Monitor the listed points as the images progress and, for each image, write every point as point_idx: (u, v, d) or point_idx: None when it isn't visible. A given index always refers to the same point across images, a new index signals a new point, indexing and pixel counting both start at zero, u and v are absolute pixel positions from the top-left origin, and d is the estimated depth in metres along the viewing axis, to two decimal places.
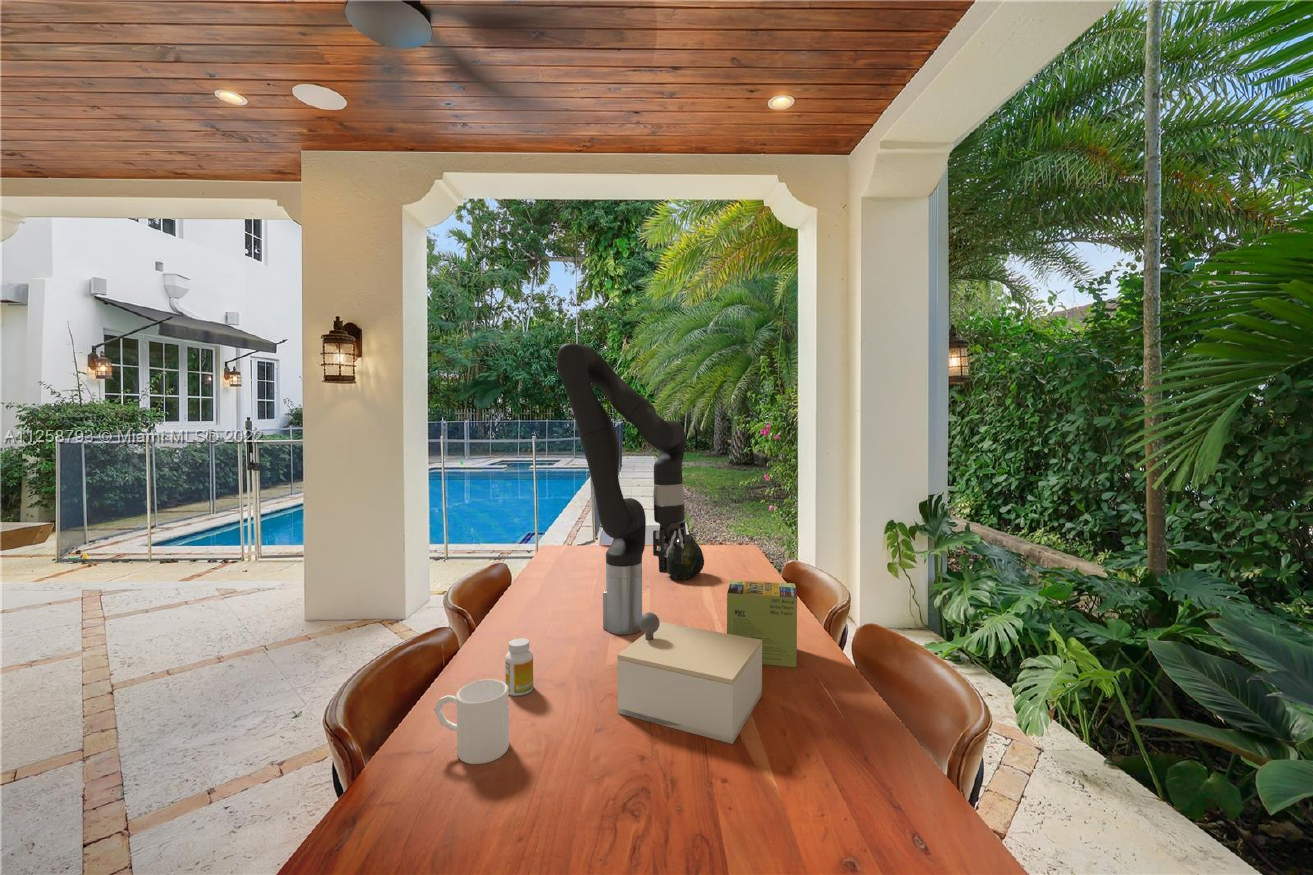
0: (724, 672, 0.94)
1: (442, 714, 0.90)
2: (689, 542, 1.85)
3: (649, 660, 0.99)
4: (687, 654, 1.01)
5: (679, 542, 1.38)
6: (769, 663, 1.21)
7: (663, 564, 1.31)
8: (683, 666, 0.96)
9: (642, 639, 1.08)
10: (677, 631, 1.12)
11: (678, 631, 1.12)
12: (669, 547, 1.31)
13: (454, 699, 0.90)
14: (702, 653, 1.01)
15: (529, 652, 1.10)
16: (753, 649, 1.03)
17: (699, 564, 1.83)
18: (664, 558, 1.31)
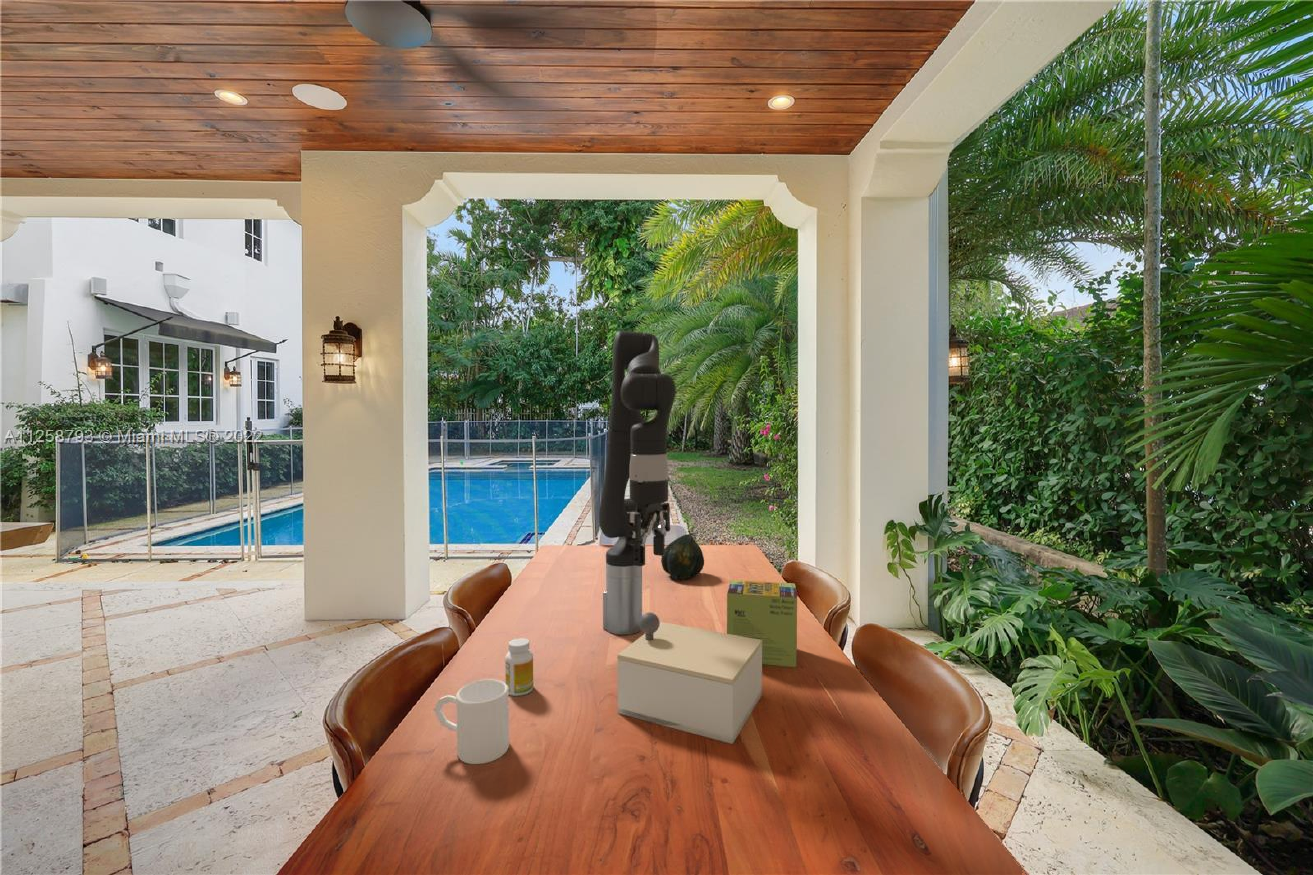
0: (724, 672, 0.94)
1: (442, 714, 0.90)
2: (689, 542, 1.85)
3: (649, 660, 0.99)
4: (687, 654, 1.01)
5: (661, 528, 1.10)
6: (769, 663, 1.21)
7: (639, 555, 1.03)
8: (683, 666, 0.96)
9: (642, 639, 1.08)
10: (677, 631, 1.12)
11: (678, 631, 1.12)
12: (647, 534, 1.03)
13: (454, 699, 0.90)
14: (702, 653, 1.01)
15: (529, 652, 1.10)
16: (753, 649, 1.03)
17: (699, 564, 1.83)
18: (640, 547, 1.03)
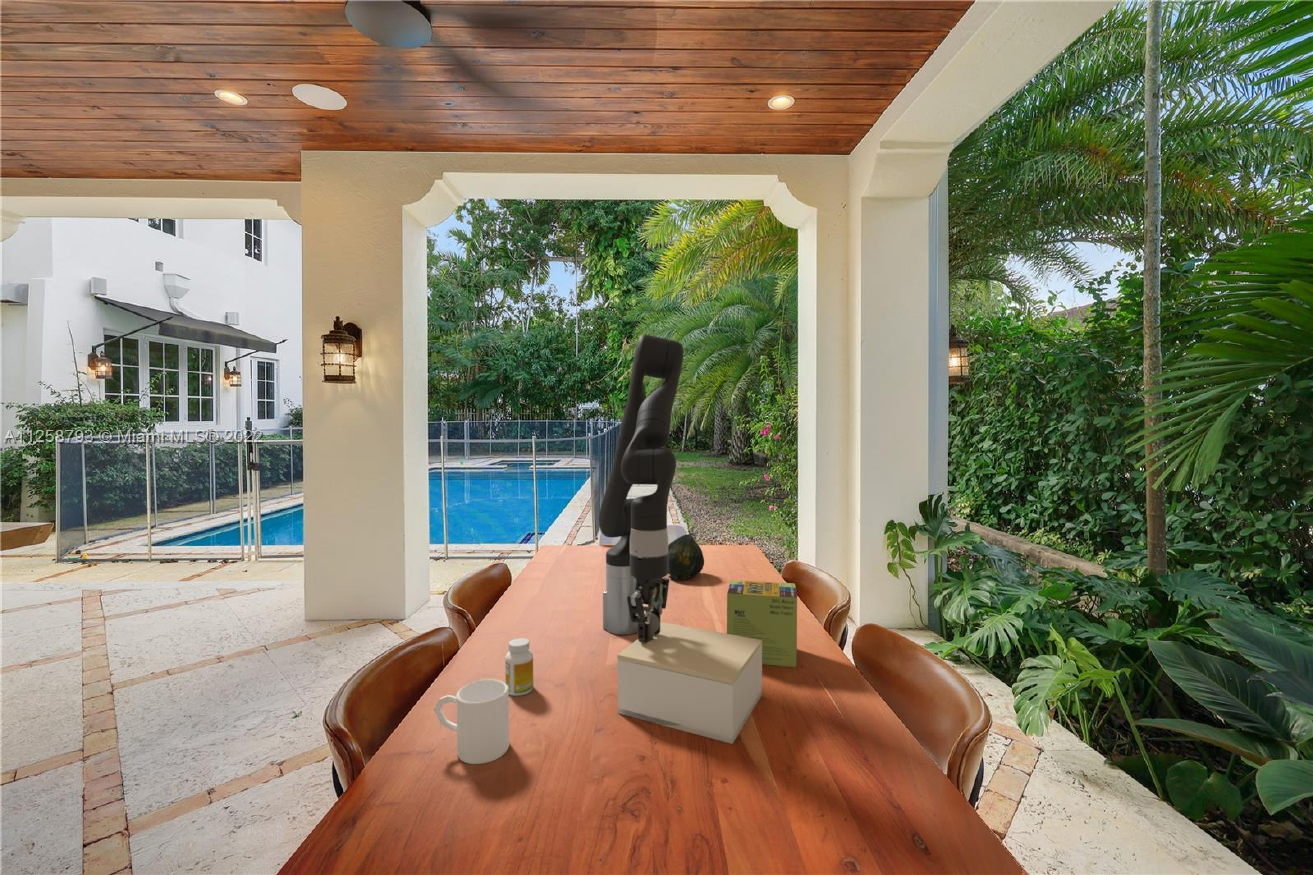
0: (724, 672, 0.94)
1: (442, 714, 0.90)
2: (689, 542, 1.85)
3: (649, 660, 0.99)
4: (687, 654, 1.01)
5: (658, 603, 1.09)
6: (769, 663, 1.21)
7: (643, 633, 1.05)
8: (683, 666, 0.96)
9: None
10: (677, 631, 1.12)
11: (678, 631, 1.12)
12: (650, 611, 1.05)
13: (454, 699, 0.90)
14: (702, 653, 1.01)
15: (529, 652, 1.10)
16: (753, 649, 1.03)
17: (699, 564, 1.83)
18: (645, 625, 1.05)
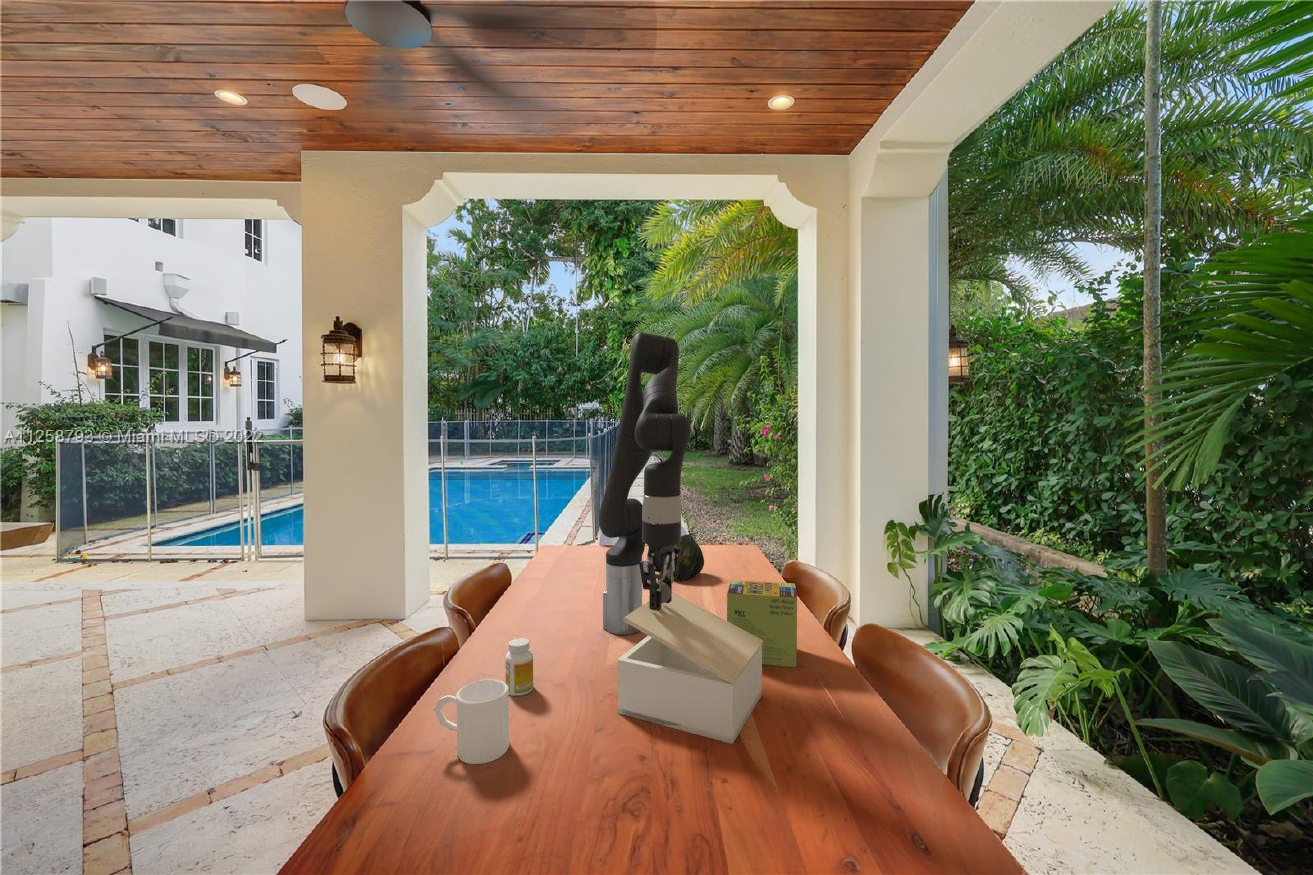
0: (726, 669, 0.94)
1: (442, 714, 0.90)
2: (689, 542, 1.85)
3: (655, 633, 0.98)
4: (691, 636, 1.00)
5: (669, 572, 1.07)
6: (769, 663, 1.21)
7: (655, 600, 1.04)
8: (687, 650, 0.96)
9: None
10: (683, 605, 1.11)
11: (683, 605, 1.11)
12: (662, 578, 1.04)
13: (454, 699, 0.90)
14: (706, 640, 1.01)
15: (529, 652, 1.10)
16: (755, 649, 1.03)
17: (699, 564, 1.83)
18: (657, 592, 1.04)
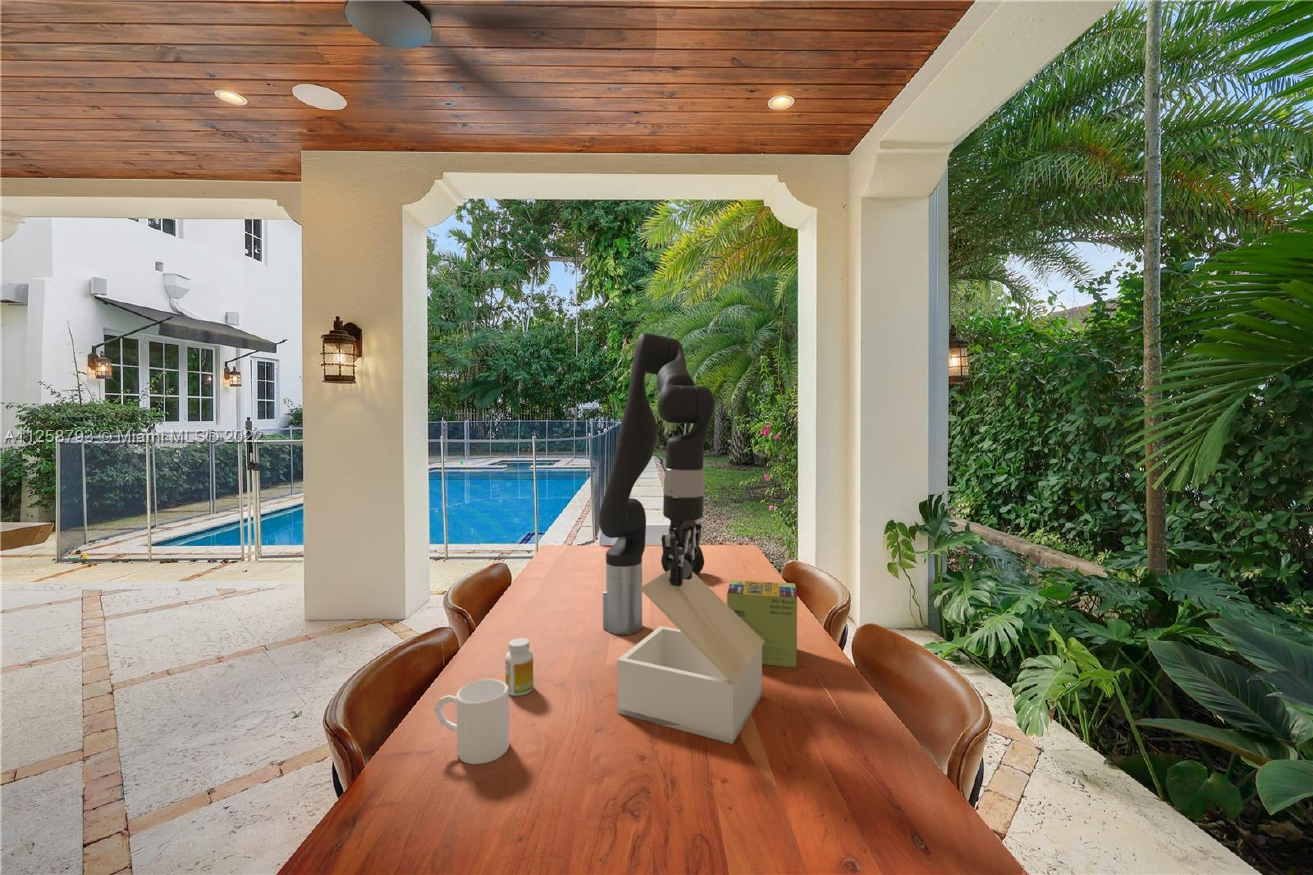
0: (730, 667, 0.93)
1: (442, 714, 0.90)
2: None
3: (669, 611, 0.97)
4: (701, 623, 1.00)
5: (691, 548, 1.05)
6: (769, 663, 1.21)
7: (676, 576, 1.01)
8: (696, 637, 0.95)
9: (665, 577, 1.05)
10: (696, 585, 1.10)
11: (697, 585, 1.10)
12: (684, 553, 1.02)
13: (454, 699, 0.90)
14: (714, 629, 1.00)
15: (529, 652, 1.10)
16: (756, 650, 1.03)
17: (699, 564, 1.83)
18: (678, 568, 1.02)
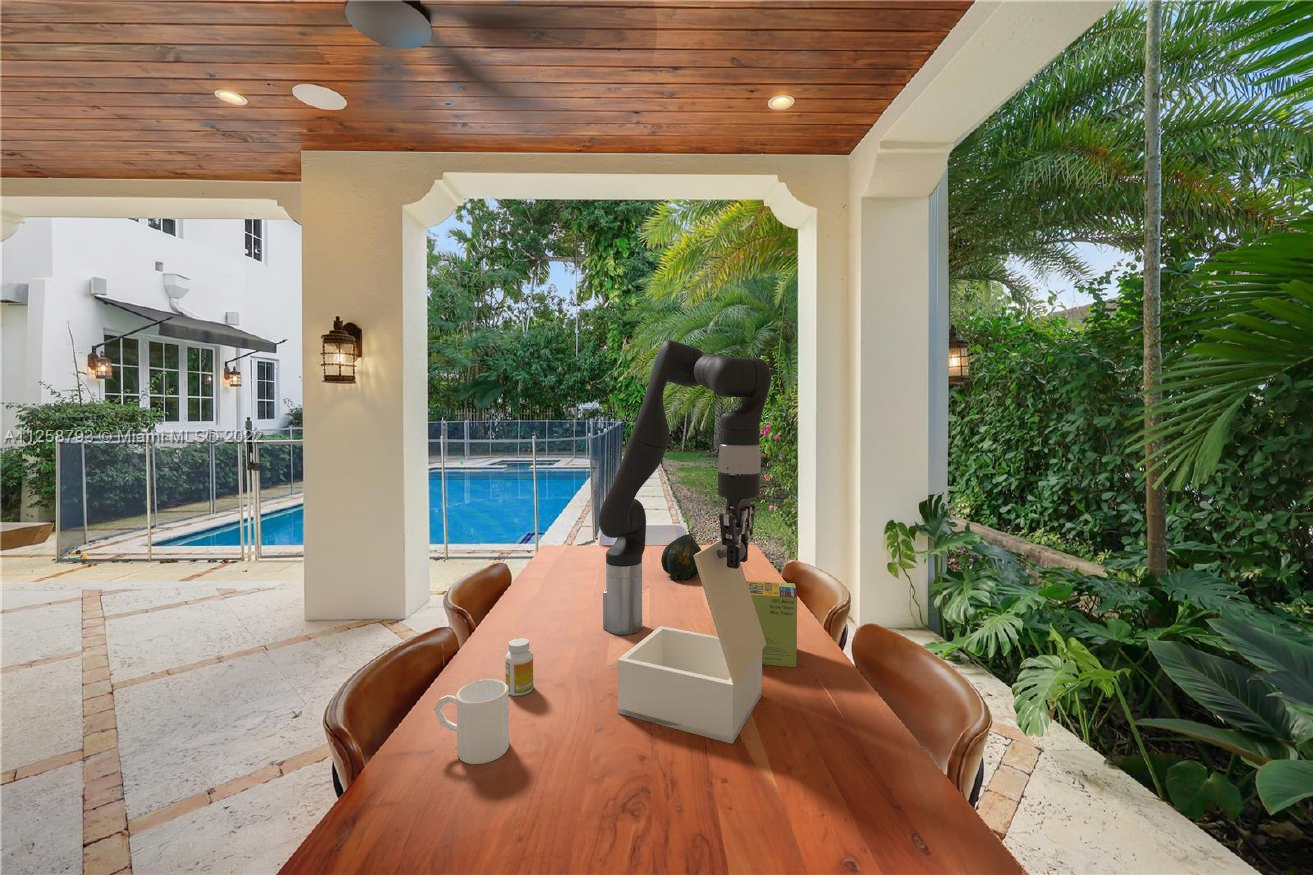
0: (737, 667, 0.93)
1: (442, 714, 0.90)
2: (689, 542, 1.85)
3: (709, 590, 0.93)
4: (729, 610, 0.97)
5: (746, 528, 1.00)
6: (769, 663, 1.21)
7: (734, 557, 0.96)
8: (722, 627, 0.93)
9: (715, 549, 1.00)
10: None
11: None
12: (741, 533, 0.97)
13: (454, 699, 0.90)
14: (735, 620, 0.98)
15: (529, 652, 1.10)
16: (758, 652, 1.03)
17: None
18: (735, 549, 0.96)
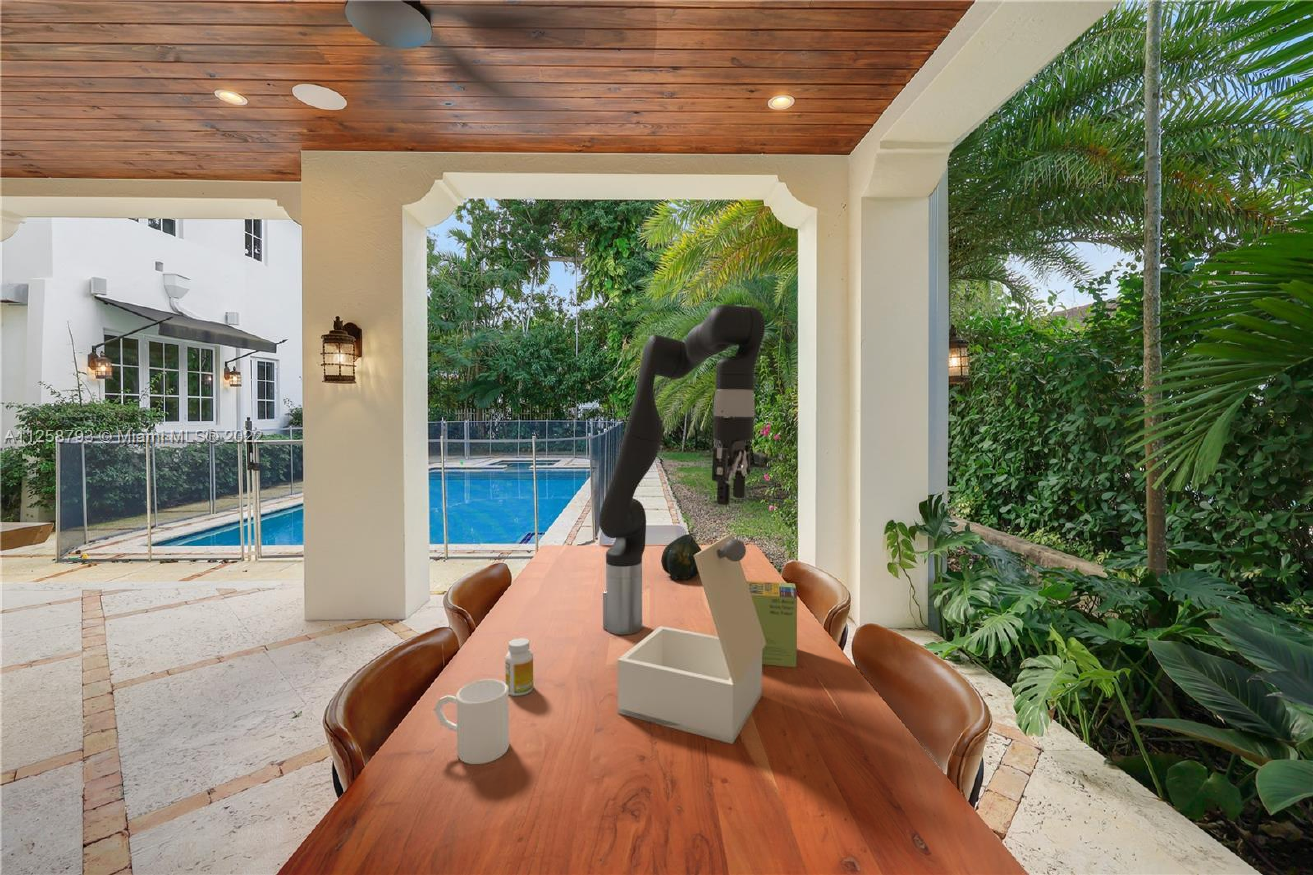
0: (737, 667, 0.93)
1: (442, 714, 0.90)
2: (689, 542, 1.85)
3: (709, 590, 0.93)
4: (729, 610, 0.97)
5: (743, 469, 1.05)
6: (769, 663, 1.21)
7: (724, 493, 0.99)
8: (722, 627, 0.93)
9: (715, 549, 1.00)
10: (735, 564, 1.06)
11: (735, 564, 1.06)
12: (733, 471, 0.99)
13: (454, 699, 0.90)
14: (735, 620, 0.98)
15: (529, 652, 1.10)
16: (758, 652, 1.03)
17: None
18: (725, 485, 0.99)
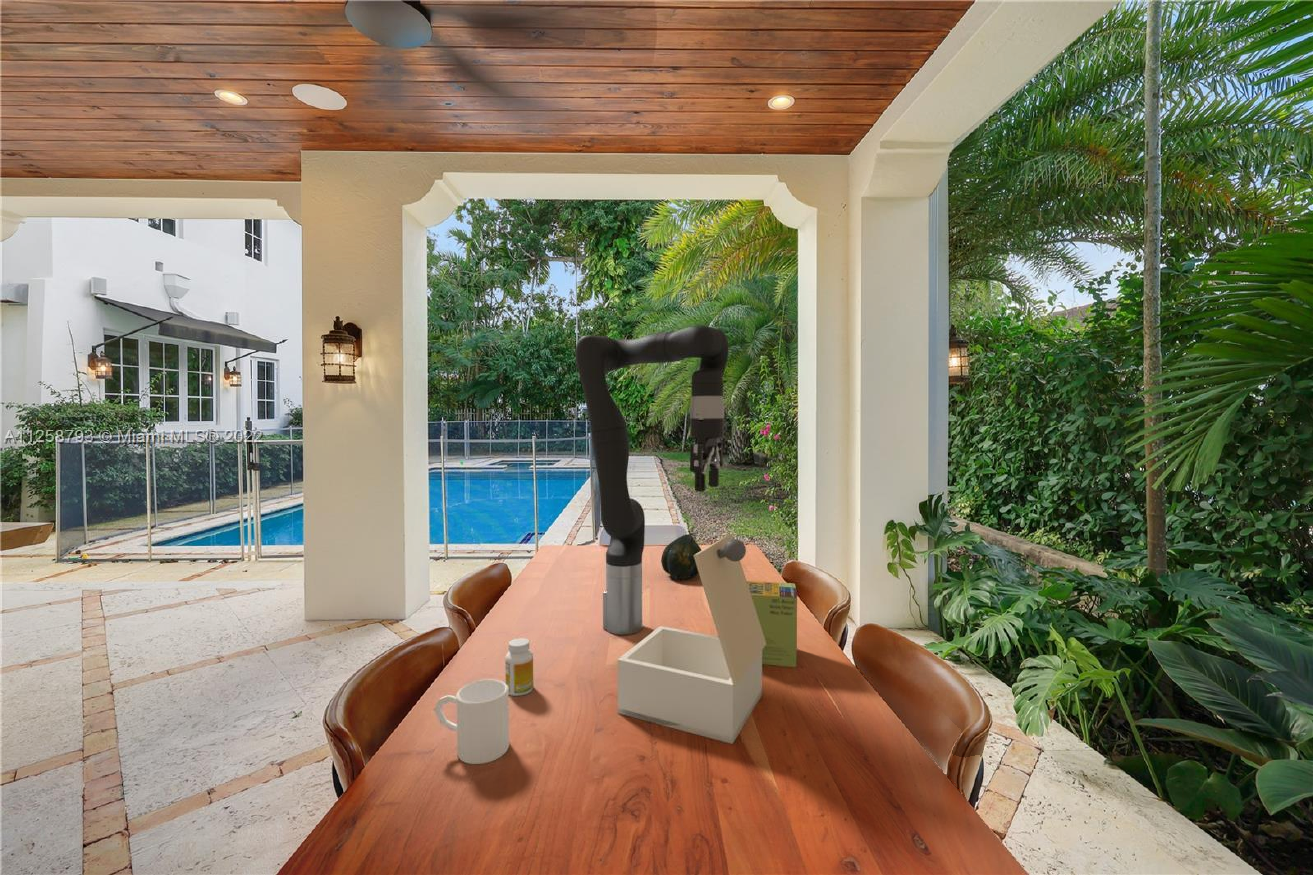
0: (737, 667, 0.93)
1: (442, 714, 0.90)
2: (689, 542, 1.85)
3: (709, 590, 0.93)
4: (729, 610, 0.97)
5: (716, 462, 1.26)
6: (769, 663, 1.21)
7: (700, 482, 1.19)
8: (722, 627, 0.93)
9: (715, 549, 1.00)
10: (735, 564, 1.06)
11: (735, 564, 1.06)
12: (707, 463, 1.20)
13: (454, 699, 0.90)
14: (735, 620, 0.98)
15: (529, 652, 1.10)
16: (758, 652, 1.03)
17: None
18: (701, 475, 1.19)
